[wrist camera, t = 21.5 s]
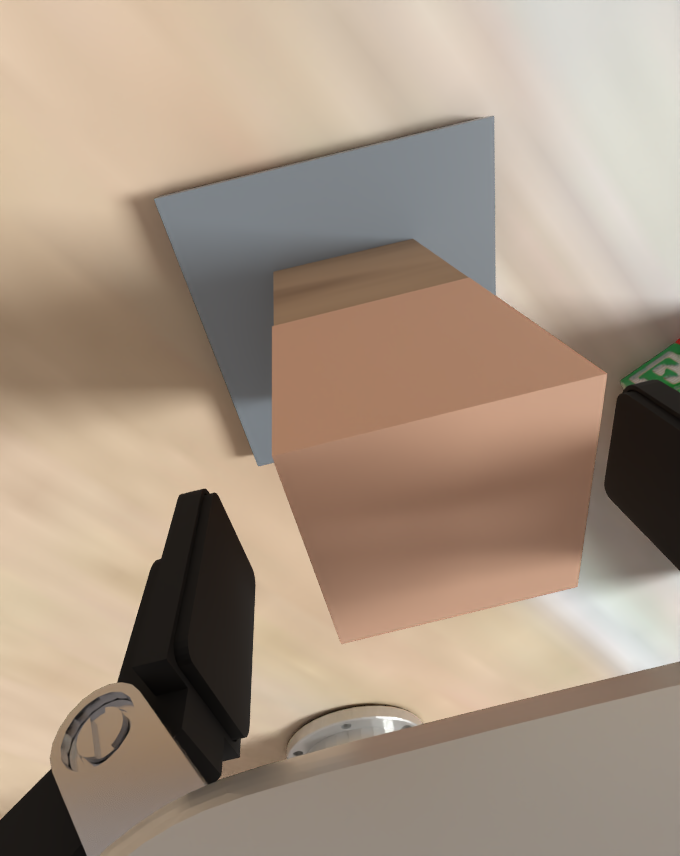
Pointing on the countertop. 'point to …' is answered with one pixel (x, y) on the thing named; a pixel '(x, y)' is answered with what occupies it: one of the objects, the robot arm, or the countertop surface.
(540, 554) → the salmon pink cube
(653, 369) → the stack of blocks
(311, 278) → the walnut brick
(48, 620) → the countertop surface
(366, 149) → the baseplate
